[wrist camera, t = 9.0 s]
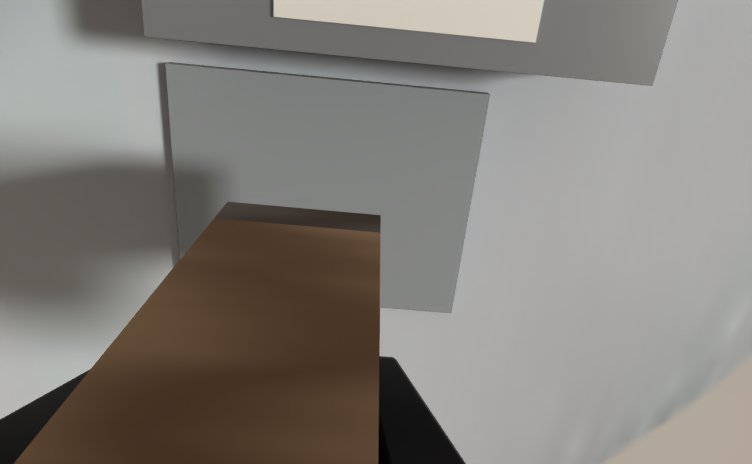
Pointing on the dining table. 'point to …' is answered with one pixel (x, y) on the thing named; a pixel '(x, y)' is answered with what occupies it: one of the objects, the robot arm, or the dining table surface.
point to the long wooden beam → (241, 352)
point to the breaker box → (439, 32)
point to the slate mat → (333, 162)
